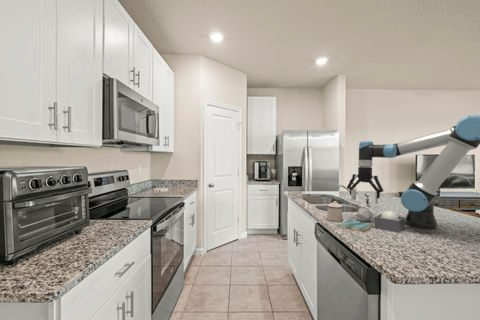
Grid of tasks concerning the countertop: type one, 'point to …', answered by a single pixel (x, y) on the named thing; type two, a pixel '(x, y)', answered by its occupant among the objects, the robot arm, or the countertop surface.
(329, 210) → the teacup with lid
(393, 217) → the dome
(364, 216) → the grey rock
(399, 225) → the dark grey open box
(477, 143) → the robot arm
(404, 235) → the countertop surface
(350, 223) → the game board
